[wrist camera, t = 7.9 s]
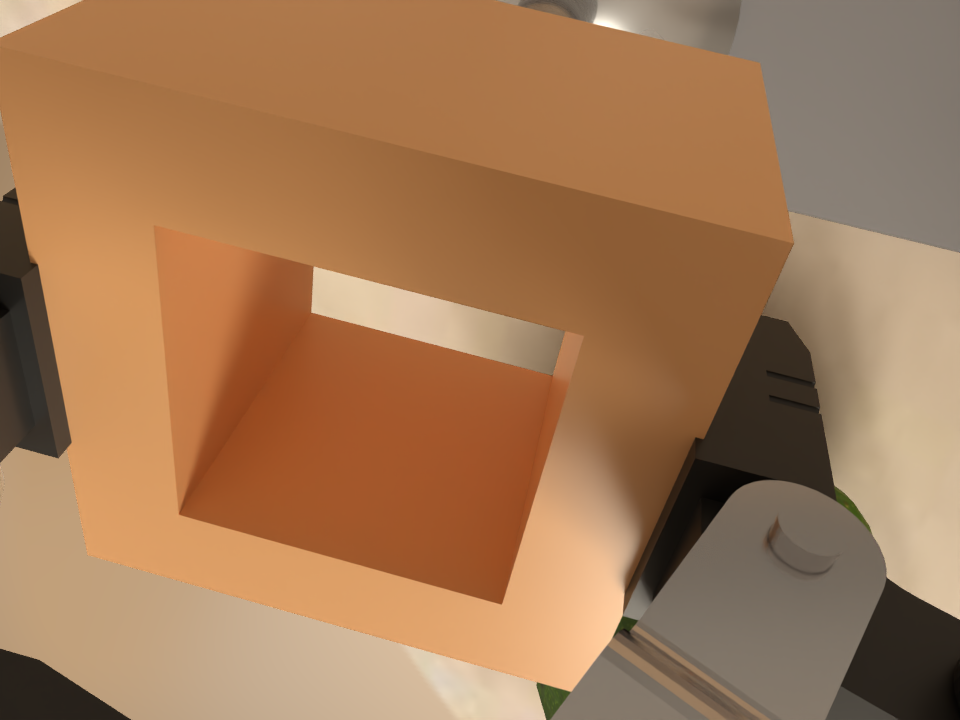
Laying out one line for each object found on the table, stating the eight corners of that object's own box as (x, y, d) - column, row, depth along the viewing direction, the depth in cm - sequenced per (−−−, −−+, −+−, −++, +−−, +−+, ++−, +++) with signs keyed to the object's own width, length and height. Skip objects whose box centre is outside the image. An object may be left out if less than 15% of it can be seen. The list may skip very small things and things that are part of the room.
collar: (760, 61, 9) (792, 243, 6) (612, 456, 13) (585, 696, 10) (225, -63, 9) (-12, 42, 6) (233, 356, 13) (87, 555, 10)
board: (1321, -34, 19) (1362, -19, 18) (1103, 265, 24) (1124, 292, 23) (425, -228, 20) (408, -225, 19) (392, 93, 25) (377, 111, 24)
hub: (798, -159, 18) (833, -122, 14) (678, 193, 24) (673, 307, 19) (419, -240, 19) (327, -232, 14) (384, 122, 24) (309, 215, 20)
